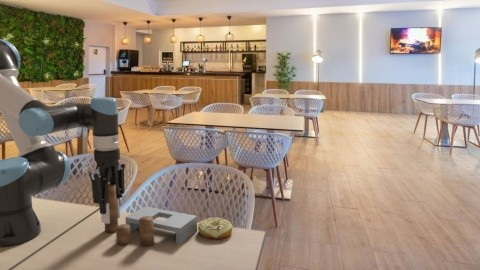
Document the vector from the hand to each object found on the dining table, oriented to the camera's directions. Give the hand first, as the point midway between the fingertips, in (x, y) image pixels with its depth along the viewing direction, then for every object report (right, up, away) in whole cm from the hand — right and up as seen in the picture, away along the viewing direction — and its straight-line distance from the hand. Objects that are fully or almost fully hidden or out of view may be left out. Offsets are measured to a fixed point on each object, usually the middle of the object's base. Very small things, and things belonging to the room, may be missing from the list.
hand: (110, 219), depth 119 cm
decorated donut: (+33, -5, 0) cm, 33 cm away
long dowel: (0, -4, +1) cm, 4 cm away
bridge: (+16, -4, 0) cm, 17 cm away
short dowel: (+6, -5, -7) cm, 11 cm away
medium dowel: (+14, -5, -8) cm, 17 cm away
